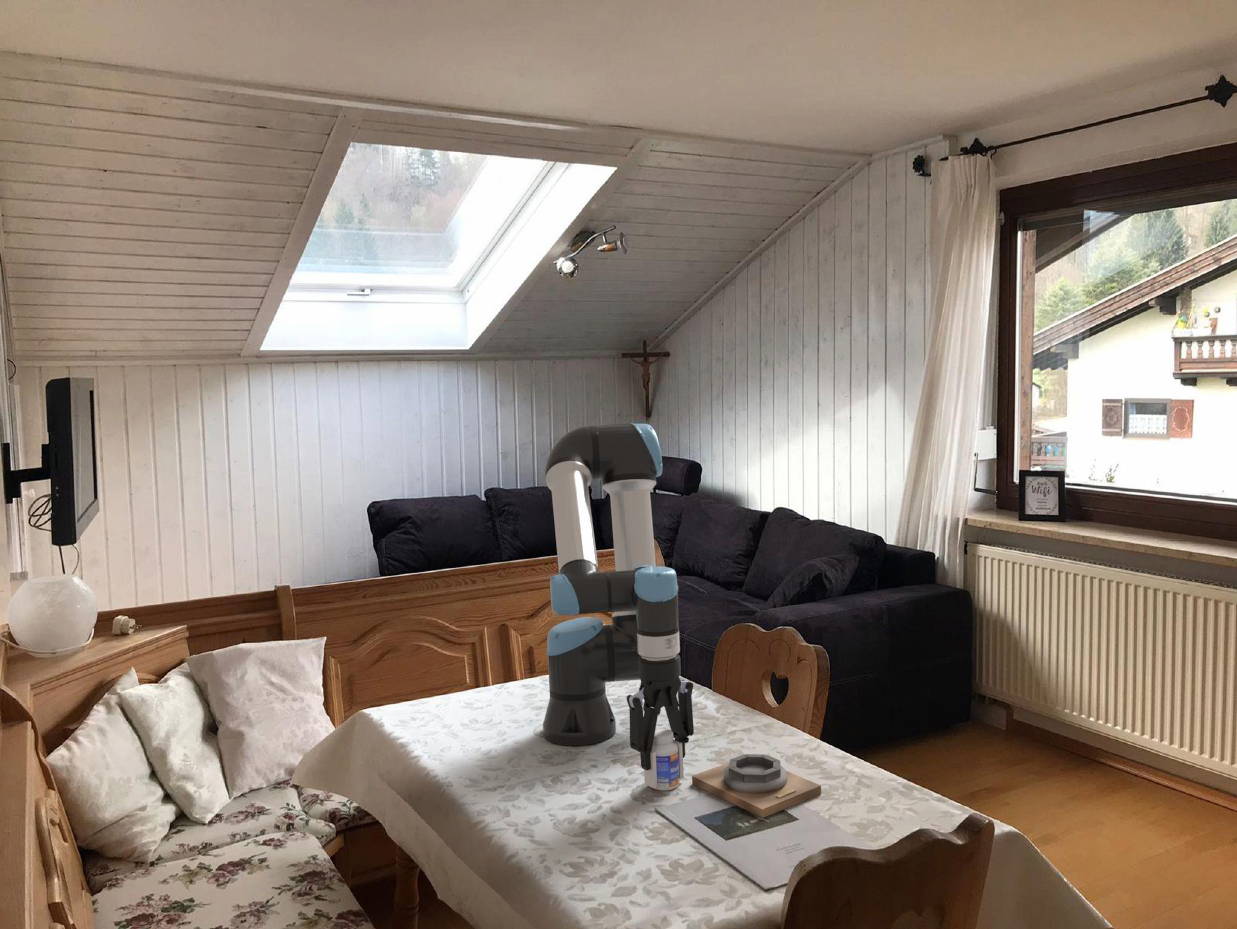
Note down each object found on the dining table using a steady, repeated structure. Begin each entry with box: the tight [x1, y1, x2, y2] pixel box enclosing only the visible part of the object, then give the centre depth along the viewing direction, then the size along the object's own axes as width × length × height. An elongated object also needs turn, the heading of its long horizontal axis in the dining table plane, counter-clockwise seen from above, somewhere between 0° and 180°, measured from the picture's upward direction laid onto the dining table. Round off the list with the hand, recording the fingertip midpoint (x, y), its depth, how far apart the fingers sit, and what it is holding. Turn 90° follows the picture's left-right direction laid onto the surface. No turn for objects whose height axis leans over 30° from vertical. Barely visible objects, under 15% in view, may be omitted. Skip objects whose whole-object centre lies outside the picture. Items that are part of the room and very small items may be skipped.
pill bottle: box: [652, 728, 680, 792], centre depth 177 cm, size 5×5×10 cm
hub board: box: [691, 753, 822, 819], centre depth 174 cm, size 18×14×4 cm
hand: (664, 780), depth 178 cm, fingers closed on pill bottle, 5 cm apart
